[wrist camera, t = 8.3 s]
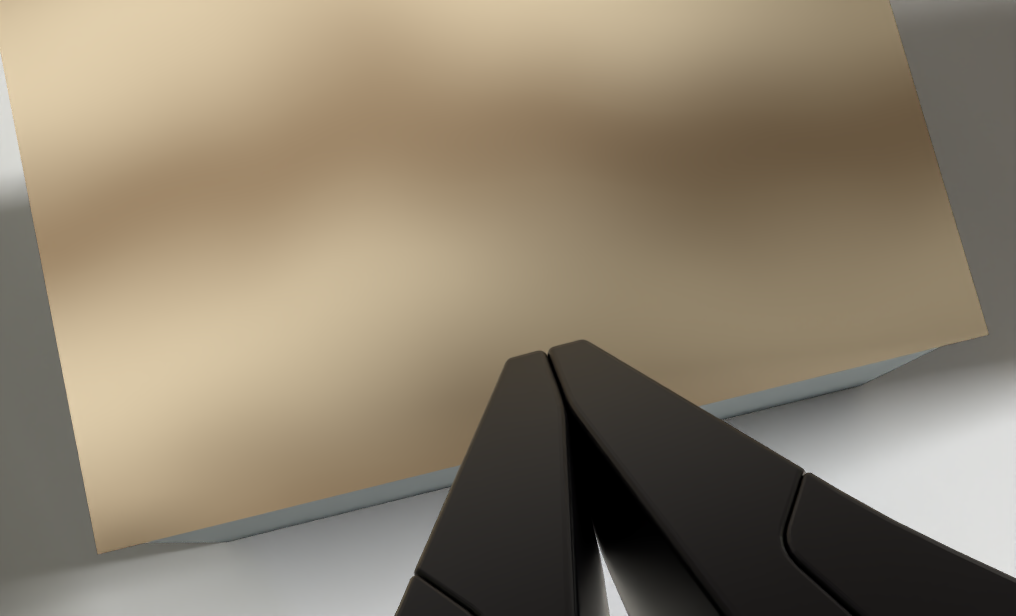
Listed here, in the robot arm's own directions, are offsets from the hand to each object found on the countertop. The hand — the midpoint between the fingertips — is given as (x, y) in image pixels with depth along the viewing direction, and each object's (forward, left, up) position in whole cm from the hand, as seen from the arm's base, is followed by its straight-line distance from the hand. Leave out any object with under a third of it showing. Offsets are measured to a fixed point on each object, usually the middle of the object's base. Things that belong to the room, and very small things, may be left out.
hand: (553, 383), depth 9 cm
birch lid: (+5, -2, -7) cm, 8 cm away
